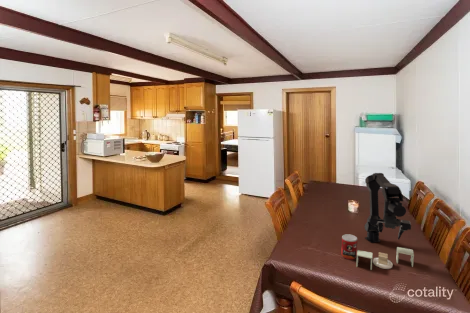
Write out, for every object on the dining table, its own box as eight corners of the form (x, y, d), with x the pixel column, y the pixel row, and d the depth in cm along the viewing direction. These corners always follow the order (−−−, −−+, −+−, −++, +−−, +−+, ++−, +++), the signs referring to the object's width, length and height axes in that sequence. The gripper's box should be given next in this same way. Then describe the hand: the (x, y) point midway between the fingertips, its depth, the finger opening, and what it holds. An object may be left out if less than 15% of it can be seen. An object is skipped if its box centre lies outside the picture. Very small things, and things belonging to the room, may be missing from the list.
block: (378, 259, 140) (378, 252, 139) (387, 261, 138) (387, 254, 137) (378, 263, 136) (378, 255, 136) (387, 265, 134) (387, 257, 134)
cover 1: (356, 261, 140) (357, 249, 139) (371, 264, 137) (372, 252, 136) (356, 266, 135) (356, 254, 134) (371, 270, 132) (372, 258, 131)
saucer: (368, 260, 141) (369, 258, 140) (383, 258, 142) (383, 256, 142) (381, 270, 132) (381, 268, 132) (396, 267, 134) (397, 265, 133)
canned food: (341, 258, 143) (342, 239, 142) (341, 251, 151) (341, 233, 149) (356, 261, 140) (357, 241, 139) (356, 253, 148) (356, 235, 146)
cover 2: (396, 258, 142) (397, 246, 141) (411, 261, 139) (412, 249, 138) (396, 263, 137) (397, 251, 136) (412, 266, 134) (413, 254, 133)
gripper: (369, 211, 135) (368, 240, 137) (413, 217, 126) (411, 248, 129) (370, 205, 145) (368, 232, 147) (410, 210, 136) (408, 238, 138)
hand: (388, 237), depth 140 cm, fingers open, 9 cm apart
